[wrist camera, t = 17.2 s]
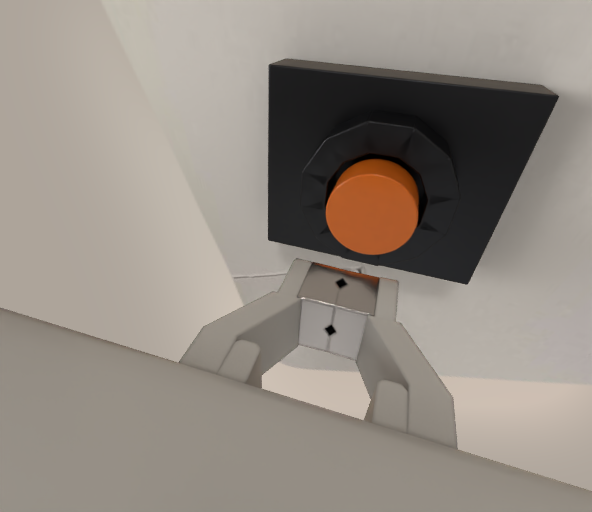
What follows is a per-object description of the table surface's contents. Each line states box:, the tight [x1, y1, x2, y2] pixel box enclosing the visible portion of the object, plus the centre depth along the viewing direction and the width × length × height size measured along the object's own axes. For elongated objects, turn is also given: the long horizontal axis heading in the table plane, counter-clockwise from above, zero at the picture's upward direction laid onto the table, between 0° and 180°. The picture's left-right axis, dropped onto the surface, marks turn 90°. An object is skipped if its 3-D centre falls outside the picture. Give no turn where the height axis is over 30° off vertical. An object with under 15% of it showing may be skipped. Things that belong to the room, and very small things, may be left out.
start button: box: [326, 159, 419, 255], centre depth 14 cm, size 4×4×2 cm
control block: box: [268, 59, 559, 284], centre depth 16 cm, size 11×9×4 cm
